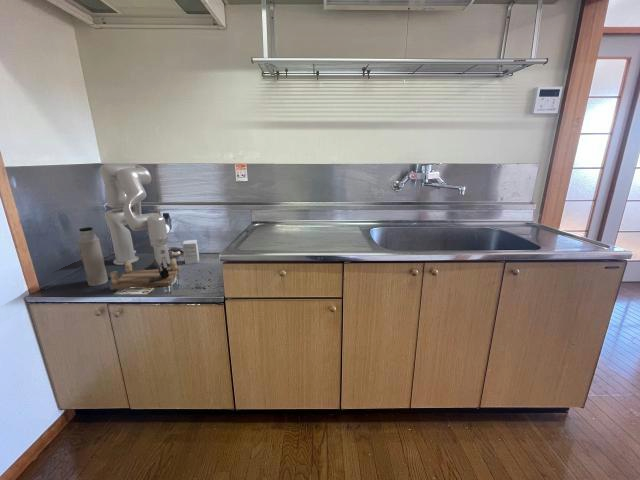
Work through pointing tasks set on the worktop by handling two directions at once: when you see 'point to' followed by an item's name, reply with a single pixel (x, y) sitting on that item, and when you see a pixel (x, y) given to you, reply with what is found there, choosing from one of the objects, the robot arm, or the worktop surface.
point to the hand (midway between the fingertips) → (164, 275)
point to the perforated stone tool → (169, 257)
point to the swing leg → (156, 277)
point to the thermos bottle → (92, 257)
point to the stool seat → (142, 277)
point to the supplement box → (190, 251)
